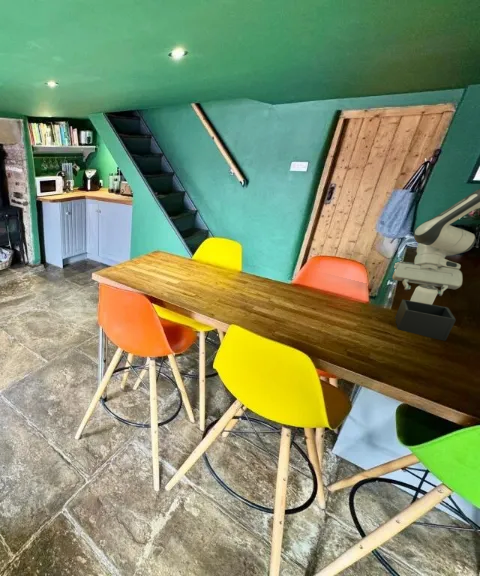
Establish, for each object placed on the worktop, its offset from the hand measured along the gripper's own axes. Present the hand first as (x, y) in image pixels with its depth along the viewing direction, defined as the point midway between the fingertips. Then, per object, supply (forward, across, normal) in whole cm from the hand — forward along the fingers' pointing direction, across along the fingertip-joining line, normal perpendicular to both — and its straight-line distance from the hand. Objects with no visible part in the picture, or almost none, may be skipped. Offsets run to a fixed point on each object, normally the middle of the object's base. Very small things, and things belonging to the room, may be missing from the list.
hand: (422, 292), depth 127 cm
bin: (+21, -1, -8) cm, 22 cm away
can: (+8, 0, +4) cm, 9 cm away
